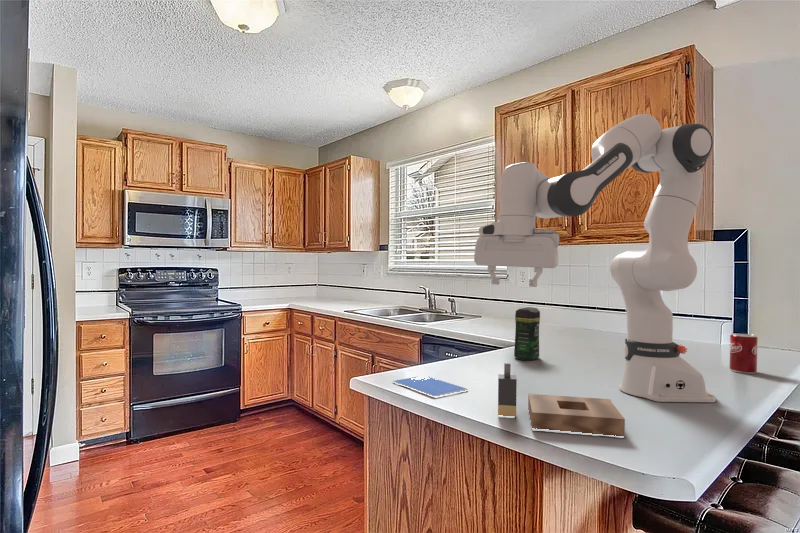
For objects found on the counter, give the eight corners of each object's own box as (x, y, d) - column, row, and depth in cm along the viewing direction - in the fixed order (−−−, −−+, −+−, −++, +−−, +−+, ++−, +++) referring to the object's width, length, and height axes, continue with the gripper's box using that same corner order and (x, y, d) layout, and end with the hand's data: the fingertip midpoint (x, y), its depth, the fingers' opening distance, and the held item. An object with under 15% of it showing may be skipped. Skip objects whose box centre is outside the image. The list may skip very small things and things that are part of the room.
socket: (609, 416, 109) (609, 399, 109) (624, 438, 96) (624, 419, 96) (528, 410, 113) (528, 393, 113) (531, 431, 99) (532, 412, 99)
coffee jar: (532, 362, 167) (533, 309, 167) (511, 358, 172) (511, 307, 171) (542, 357, 175) (543, 307, 174) (522, 354, 179) (522, 305, 179)
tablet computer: (391, 384, 138) (391, 380, 138) (425, 378, 145) (425, 374, 145) (434, 401, 122) (434, 396, 122) (469, 393, 129) (469, 388, 129)
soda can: (732, 372, 153) (733, 335, 153) (726, 368, 160) (727, 332, 160) (760, 375, 150) (760, 337, 150) (752, 370, 157) (753, 334, 157)
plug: (515, 413, 111) (516, 362, 111) (516, 419, 107) (516, 366, 107) (498, 412, 112) (498, 361, 111) (498, 417, 108) (498, 365, 108)
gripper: (563, 230, 113) (560, 288, 114) (482, 230, 124) (480, 282, 124) (556, 227, 108) (553, 288, 108) (472, 228, 119) (470, 283, 119)
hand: (513, 285), depth 116 cm, fingers open, 8 cm apart
